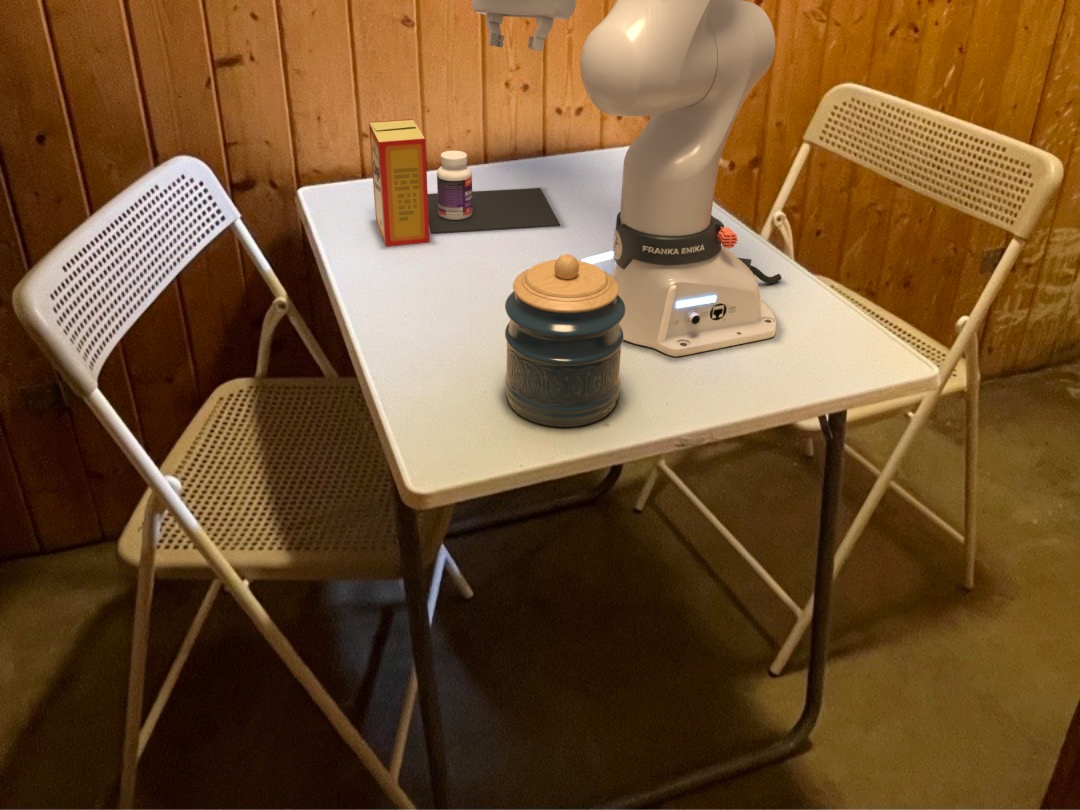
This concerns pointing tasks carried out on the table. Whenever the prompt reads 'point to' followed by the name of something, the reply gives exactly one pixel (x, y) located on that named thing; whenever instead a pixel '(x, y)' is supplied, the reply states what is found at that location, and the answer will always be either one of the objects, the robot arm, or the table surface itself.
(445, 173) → the pill bottle
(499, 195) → the rubber mat
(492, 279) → the table surface
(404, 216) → the baking soda box
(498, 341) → the table surface
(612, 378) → the canister
